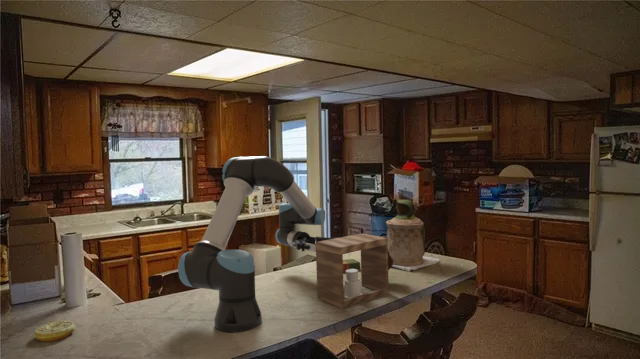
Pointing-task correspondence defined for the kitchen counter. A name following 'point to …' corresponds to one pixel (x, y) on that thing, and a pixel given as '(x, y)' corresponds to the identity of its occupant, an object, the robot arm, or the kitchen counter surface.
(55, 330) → the decorated donut
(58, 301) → the kitchen counter surface
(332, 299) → the counter shelf
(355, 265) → the carton
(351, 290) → the downlight
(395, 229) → the cookie jar
